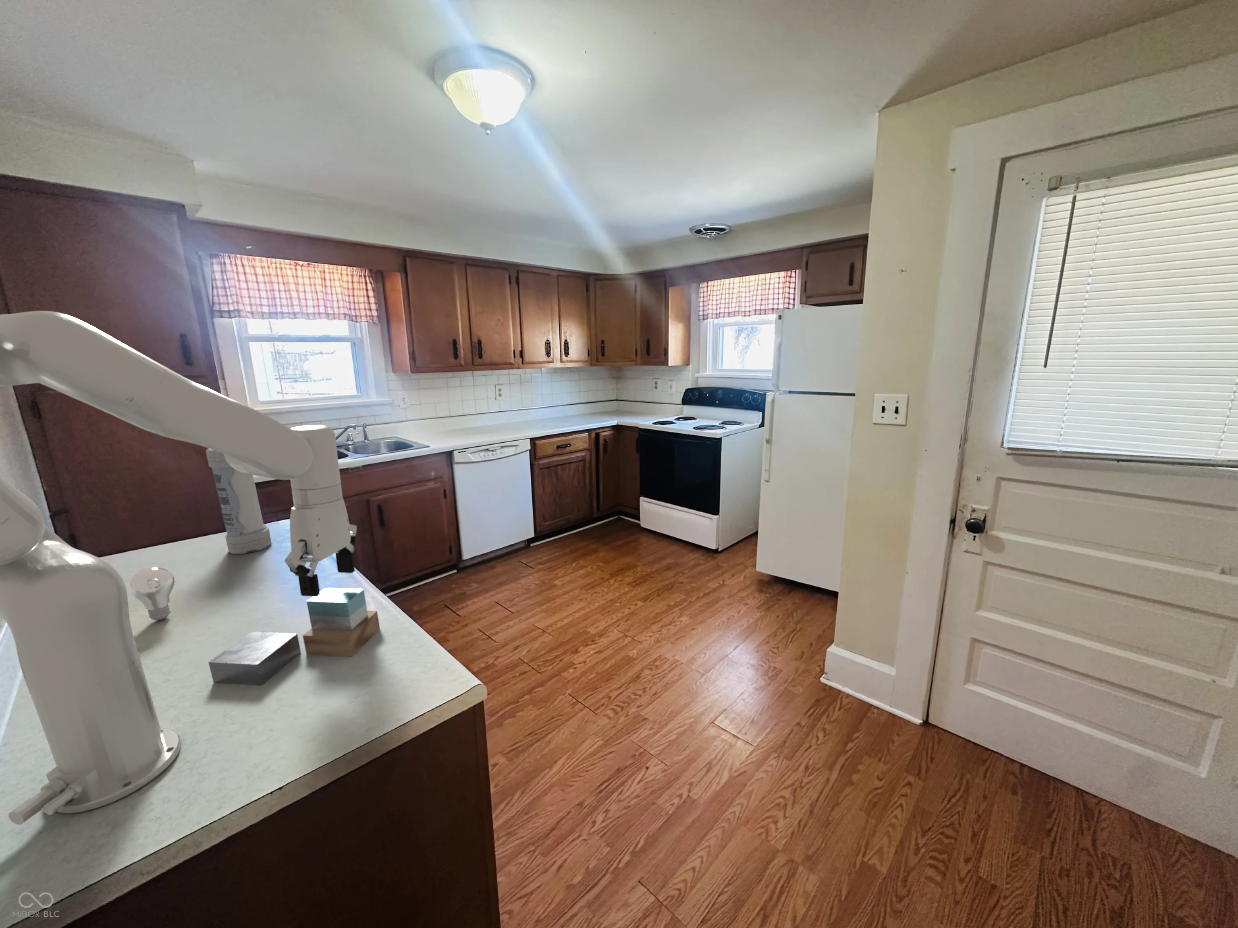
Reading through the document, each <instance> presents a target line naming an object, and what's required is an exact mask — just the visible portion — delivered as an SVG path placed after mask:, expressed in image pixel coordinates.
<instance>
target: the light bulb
mask: <svg viewBox="0 0 1238 928" xmlns="http://www.w3.org/2000/svg"><path fill="white" fill-rule="evenodd" d="M175 582H176V581H175V576H174V574H173V573H172V572H171V570H169V569H167V568H165V567H163V566H156V565H155V566H147V567H144V568H141V569H140V570H138V571H136V572H135V573H134V574H133V575H132V576H131V578H130V579H129V582H128V586H127V588H128V592H129V594H130V595H131V596H132V598H134V599H135V600H137V601H139V602H140V603H142V605H143V606H144V608H145V609H146V611H147V613H148V618H149V619H151V620H154V621H157V622H162V621H165V620H166V618H167V617H169V615H170V614H171V608H170V607H171V606H170V605H169V603H170V595H171V593H172V591H173V589H174V586H175Z"/></svg>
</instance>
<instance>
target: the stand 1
mask: <svg viewBox="0 0 1238 928" xmlns="http://www.w3.org/2000/svg"><path fill="white" fill-rule="evenodd" d="M298 636H299V635H298V633H294V632H293V633H292V632H272V631H271V632H270V631H251V632H250V633H248V634H247V635H245V636H244V637H242V638H241V639H240V640H238V641H237V642H236V643H234V644H232V645H230V646H229V647H228V648H227V649H225V650H224V651H222V652H221V653H219V654H218V655H216V656H215V657H214V658H212V659H211V660H209V661H208V666H209V670H210V673H211V677H212V682H213V683H216V684H217V683H218V684H237V685H253V686H256V685H257V686H263V685H264V684H266V683H267V682H268V681H269V680H270V679H271V678H272V677H274V675H276V674H277V673H278V672H280V671H281V670H282V669H284V667H285V666H287V664H289V663H290V662H291V661H292V660H294V659H295V658H296V657H297V656H298V655H300V654H301V653H302V650H301V646H300V641H299V637H298Z"/></svg>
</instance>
